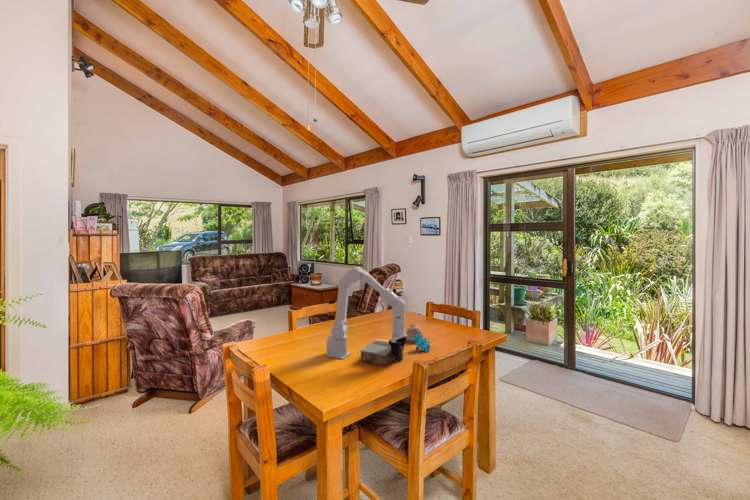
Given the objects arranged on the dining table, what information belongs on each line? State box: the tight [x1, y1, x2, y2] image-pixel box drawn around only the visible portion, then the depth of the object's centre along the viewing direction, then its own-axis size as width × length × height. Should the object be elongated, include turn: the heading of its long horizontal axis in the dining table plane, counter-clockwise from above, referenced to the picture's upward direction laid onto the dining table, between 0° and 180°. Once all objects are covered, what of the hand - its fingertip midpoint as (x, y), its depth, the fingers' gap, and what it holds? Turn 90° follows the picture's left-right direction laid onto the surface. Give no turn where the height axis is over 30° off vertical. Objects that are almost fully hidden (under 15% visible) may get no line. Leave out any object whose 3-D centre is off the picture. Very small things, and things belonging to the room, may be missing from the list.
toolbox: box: [360, 351, 395, 368], centre depth 167 cm, size 12×15×4 cm
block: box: [394, 346, 404, 362], centre depth 166 cm, size 3×3×6 cm
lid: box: [360, 338, 392, 356], centre depth 166 cm, size 12×15×2 cm
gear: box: [414, 334, 432, 353], centre depth 181 cm, size 11×6×10 cm
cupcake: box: [405, 322, 423, 343], centre depth 195 cm, size 9×9×10 cm
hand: (398, 353), depth 166 cm, fingers open, 7 cm apart
